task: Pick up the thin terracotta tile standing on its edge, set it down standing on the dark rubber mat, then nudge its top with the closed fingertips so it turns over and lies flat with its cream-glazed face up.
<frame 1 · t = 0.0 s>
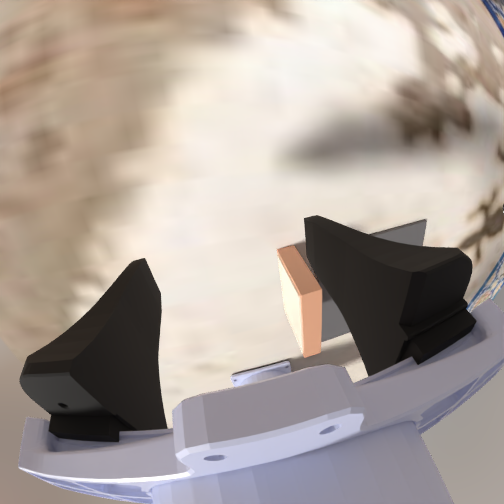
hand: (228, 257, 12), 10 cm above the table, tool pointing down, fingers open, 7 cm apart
terracotta tile: (289, 281, 27), on the table
mat: (372, 284, 30), on the table
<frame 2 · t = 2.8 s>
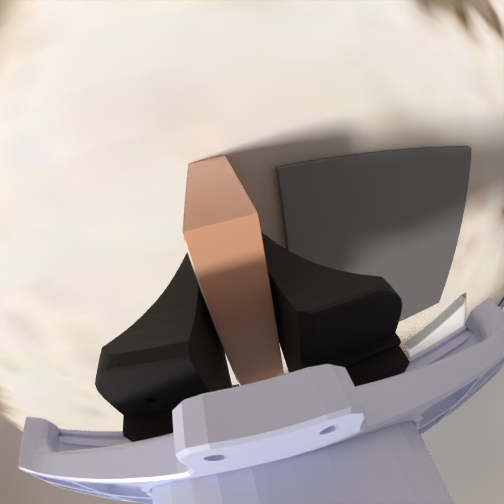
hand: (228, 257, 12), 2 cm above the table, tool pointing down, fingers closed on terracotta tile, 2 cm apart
terracotta tile: (225, 239, 13), on the table, touching gripper
mat: (390, 256, 16), on the table
external hard drive: (434, 337, 26), on the table
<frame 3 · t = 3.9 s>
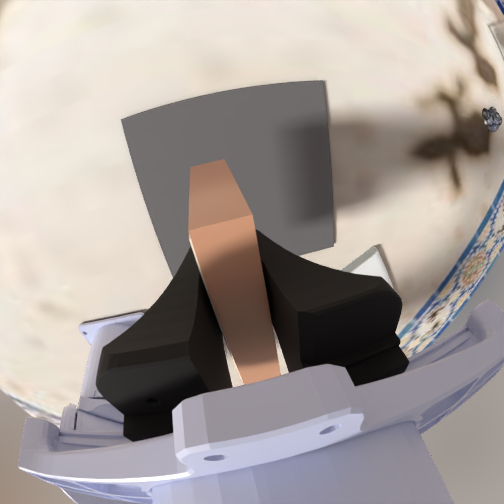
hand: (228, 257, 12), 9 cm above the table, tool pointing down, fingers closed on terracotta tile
terracotta tile: (225, 236, 14), point 6 cm above the table, touching gripper
mat: (241, 185, 19), on the table
external hard drive: (357, 297, 30), on the table
blueberries: (488, 114, 20), on the table
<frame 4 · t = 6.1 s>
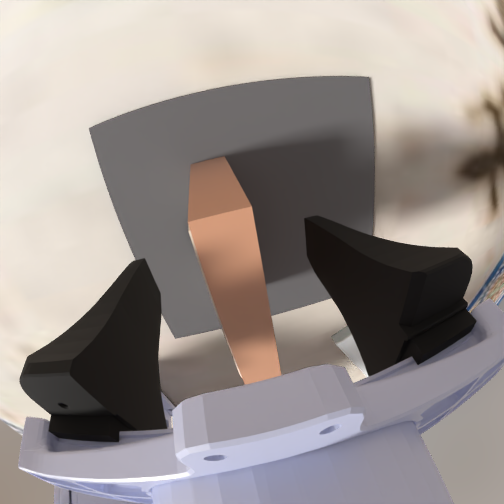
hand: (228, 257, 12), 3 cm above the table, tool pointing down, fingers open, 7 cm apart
terracotta tile: (224, 234, 14), resting on mat
mat: (258, 218, 15), on the table
external hard drive: (382, 332, 25), on the table
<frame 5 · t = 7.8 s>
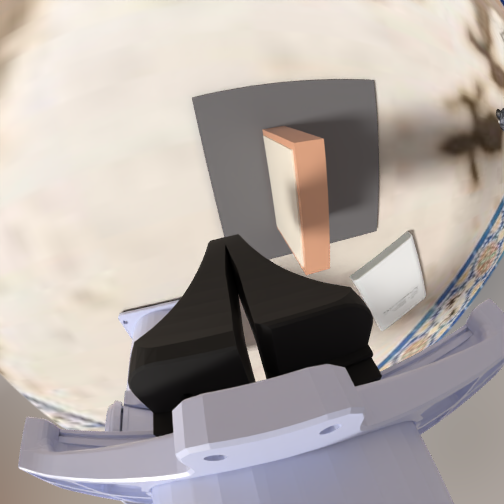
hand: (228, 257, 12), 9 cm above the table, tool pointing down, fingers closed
terracotta tile: (280, 179, 20), resting on mat
mat: (302, 170, 20), on the table
external hard drive: (389, 281, 30), on the table
blueberries: (501, 114, 20), on the table
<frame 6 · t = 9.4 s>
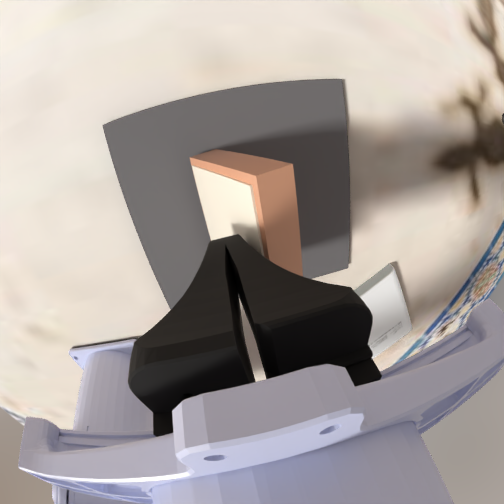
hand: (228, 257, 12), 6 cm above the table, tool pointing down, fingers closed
terracotta tile: (218, 217, 16), point 1 cm above the table, tilted 21°, touching mat
mat: (245, 202, 17), on the table
external hard drive: (368, 316, 27), on the table
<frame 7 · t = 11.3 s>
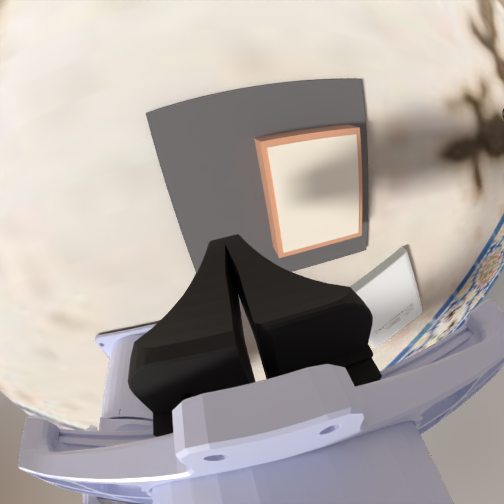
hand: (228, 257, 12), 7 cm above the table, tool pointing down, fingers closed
terracotta tile: (267, 200, 17), point 1 cm above the table, tilted 90°, touching mat
mat: (277, 187, 18), on the table
external hard drive: (382, 299, 28), on the table
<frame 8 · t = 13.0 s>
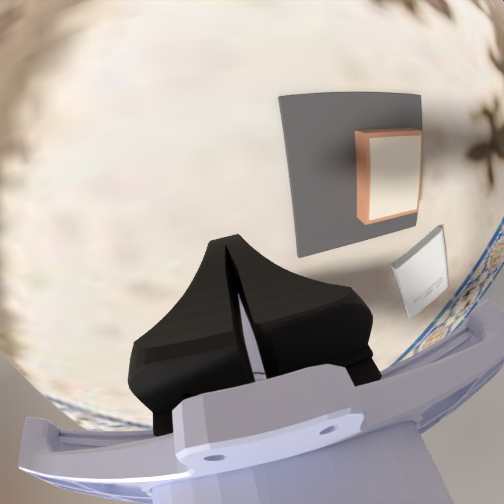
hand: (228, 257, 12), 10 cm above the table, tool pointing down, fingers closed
terracotta tile: (361, 178, 21), point 1 cm above the table, tilted 90°, touching mat
mat: (364, 170, 22), on the table
external hard drive: (419, 272, 32), on the table
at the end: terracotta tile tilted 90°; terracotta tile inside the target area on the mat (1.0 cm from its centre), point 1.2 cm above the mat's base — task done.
